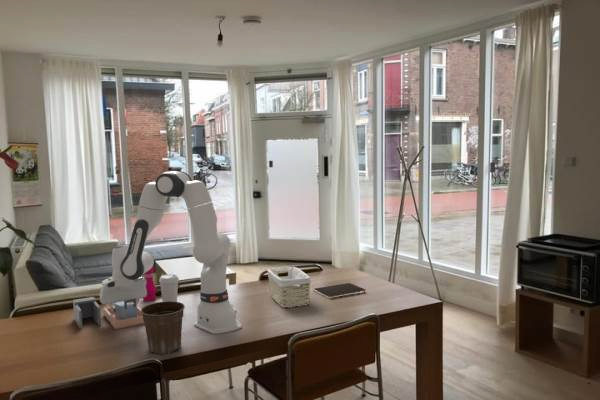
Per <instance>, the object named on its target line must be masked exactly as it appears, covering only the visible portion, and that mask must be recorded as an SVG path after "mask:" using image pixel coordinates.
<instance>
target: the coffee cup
mask: <svg viewBox="0 0 600 400" xmlns="http://www.w3.org/2000/svg"><path fill="white" fill-rule="evenodd" d="M179 281H180V278H179V276H178V274H174V273H171V274H170V273H169V274H163V275H161V276H160V278H159V280H158V282H159V284H160V290H161V291H160V292H161V302H166V301H175V302H178V290H179V289H178V287H179Z"/></svg>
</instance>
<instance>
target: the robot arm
mask: <svg viewBox="0 0 600 400" xmlns="http://www.w3.org/2000/svg"><path fill="white" fill-rule="evenodd" d="M180 197H181V198H182V199H183V201H184V202H185V205H186V208H187V211H188V216H189V218H190V222H191V226H192V227H191V228H192V232H193V233H192V235H193V250H192V255H193V257H194V259H195V261H197V262H198V263H200V264H202V268H201V271H200V291H199V299H200V302H199V304H198V305H197V308H196V309H197V311H196V312H197V313H196V321H194V324H193V326H194V327H197V328H199V329H201V330H202V331H203V330H204V331H205V332H207V333H209V334H213V335H215V334H217V335H218V334H225V333H229V332H233V331H236V330H240V329H241V328H242V327H243V326H242V323H241V322H240V321H239V320H238V319H237V318H236V317H237V314H238V310H237V309H236V308H233V304H232V303H231V302H230V300H229V292H228V289H227V267H228V261H229V252H230V248H231V240H230V238H229V236H228V235H227V234H225V233H223V232H218V225H217V224H218V217H217V214H216V210H215V207H214V204H213V200H212V198H211V195H210V193H209V191H208V188H207V186H206V184H205V183H204V182H203V181H201V180H192V177H191V176H190V175H189V174H188V173H187V172H184V171H181V170H180V171H177V170H169V171H164V172H162V173H161V174H159V175H158V176H157V177H156V179H155V181H151V182H148V183H145V185H144V187H143V190H142V192H141V195H140V199H139V203H138V207H137V213H136V217H135V222H134V226H133V229H132V232H131V236H130V239H129V243H125V244H119V245H117V246H115V247H113V248H112V253H111V266H112V273H111V275H112V276H110V277H108V278H106V279H104V280H102V281H101V285H102V287H100V290H99V302H100V303H101V304H102V305H106V304H108V305H109V307H111V311H112V312H116V308H115V307H114V306H113V304H114V303H118V302H122V301H126V300H130V299H136V307H137V306H138V303H139V302H140V299H141V298H142V299H143V297H146V295H147V290H146V279H145V278H144V277H143V276H144V275H143V274H144V273H146V272H147V271H149V270H150V269H151V268H152V267H153V266H154V264H155V260H154V257H153V255H152V253H150V252H148V251H145V247H146V242H147V239H148V237H149V235H150V234H151V233H152V231H153V230H154V229H156V228H157V227H158V226H159V225H160V224H161V222H162V219H163V216H164V214H165V207H166V204H167V203H166V202H167V200H168V198H180Z"/></svg>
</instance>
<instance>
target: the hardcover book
mask: <svg viewBox="0 0 600 400" xmlns="http://www.w3.org/2000/svg"><path fill="white" fill-rule="evenodd" d="M314 289H315V290H317V291H318V292H320V293H322V294H324V295H326V296H328V297H334V296H339V295H344V294H350V293H355V292H360V291H365V292H366V291H367V290H366V288H362V287H360V286H358V285H356V284H354V283H351V282H346V283H339V284H333V285H327V286H322V287H316V288H313V290H314Z"/></svg>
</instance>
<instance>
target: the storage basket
mask: <svg viewBox="0 0 600 400" xmlns="http://www.w3.org/2000/svg"><path fill="white" fill-rule="evenodd" d="M284 273H287V275H286V276H279V274H284ZM267 276H268V285H269V292H270V296H271V298H272V299H273V300H274V301H275V302H276V303H277V304H278V305H279V306H280V307H281V308H282V307H288V308H289V307H290V308H293V307H292V306H299V305H306V304H310V297H311V295H310V293H311V283H312V280H311V277H310V276H309V274H308V273H305V272H304V271H303V270H301V269H300V268H299V267H297V266H289V267H288V266H287V267H278V268H277V267H274V268H268V269H267ZM306 306H307V305H306ZM299 307H300V306H299Z"/></svg>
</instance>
